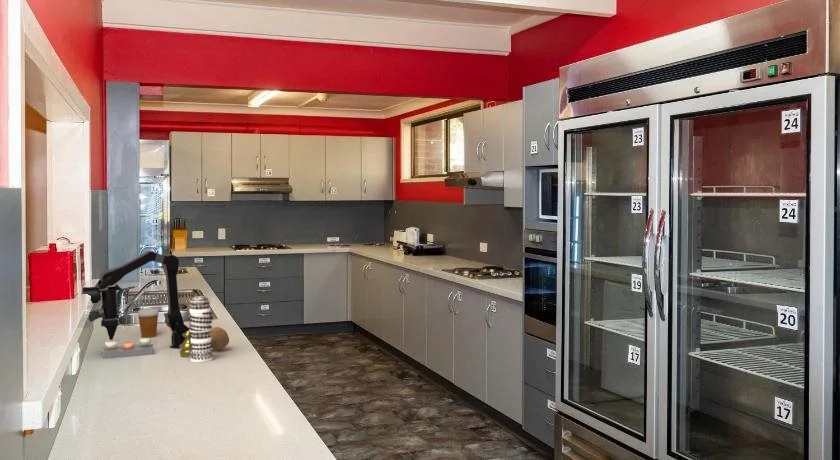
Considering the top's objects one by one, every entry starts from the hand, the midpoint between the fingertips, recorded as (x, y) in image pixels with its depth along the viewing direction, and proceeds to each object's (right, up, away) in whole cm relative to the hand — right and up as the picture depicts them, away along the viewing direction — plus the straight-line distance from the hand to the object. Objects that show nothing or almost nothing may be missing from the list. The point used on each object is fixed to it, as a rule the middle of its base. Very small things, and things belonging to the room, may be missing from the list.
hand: (111, 339), depth 311 cm
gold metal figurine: (+32, -6, -1) cm, 33 cm away
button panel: (+6, -6, +3) cm, 9 cm away
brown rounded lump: (+41, -6, +7) cm, 42 cm away
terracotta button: (+6, -4, +3) cm, 7 cm away
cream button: (0, -3, 0) cm, 3 cm away
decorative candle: (+39, -7, -9) cm, 41 cm away
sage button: (+12, -2, +5) cm, 13 cm away
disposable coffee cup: (+1, -4, +39) cm, 40 cm away
